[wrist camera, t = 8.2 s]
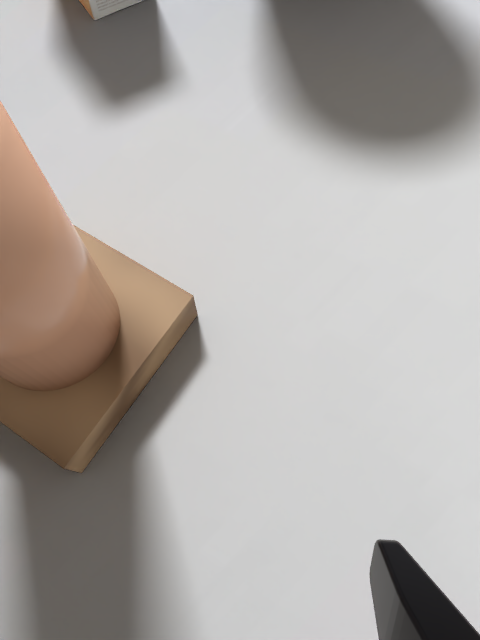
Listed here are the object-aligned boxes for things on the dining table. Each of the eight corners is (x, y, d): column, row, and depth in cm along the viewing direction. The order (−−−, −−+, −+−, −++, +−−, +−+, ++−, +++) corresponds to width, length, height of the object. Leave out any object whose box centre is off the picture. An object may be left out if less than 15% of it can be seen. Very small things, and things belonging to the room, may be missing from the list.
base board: (81, 472, 23) (63, 468, 20) (-62, 367, 25) (-94, 352, 22) (197, 315, 26) (193, 295, 24) (61, 233, 28) (45, 208, 26)
